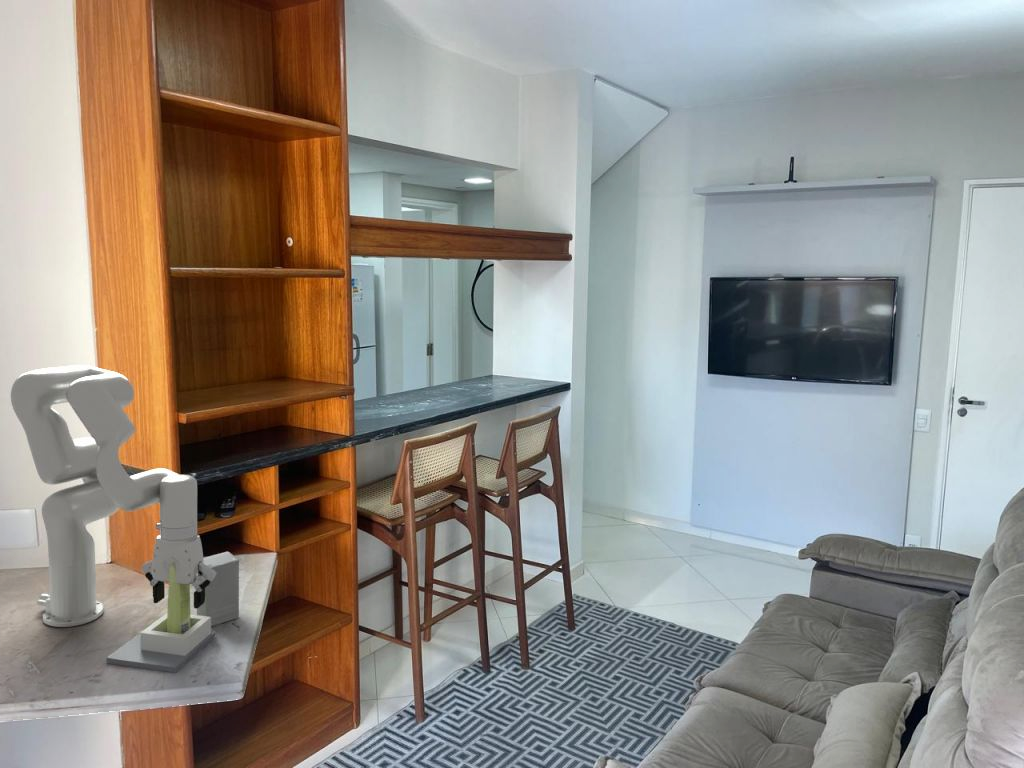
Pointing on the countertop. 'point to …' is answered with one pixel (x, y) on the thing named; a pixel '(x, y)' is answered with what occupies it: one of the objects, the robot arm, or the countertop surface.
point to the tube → (178, 606)
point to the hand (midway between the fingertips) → (178, 603)
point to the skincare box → (221, 589)
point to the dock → (164, 645)
